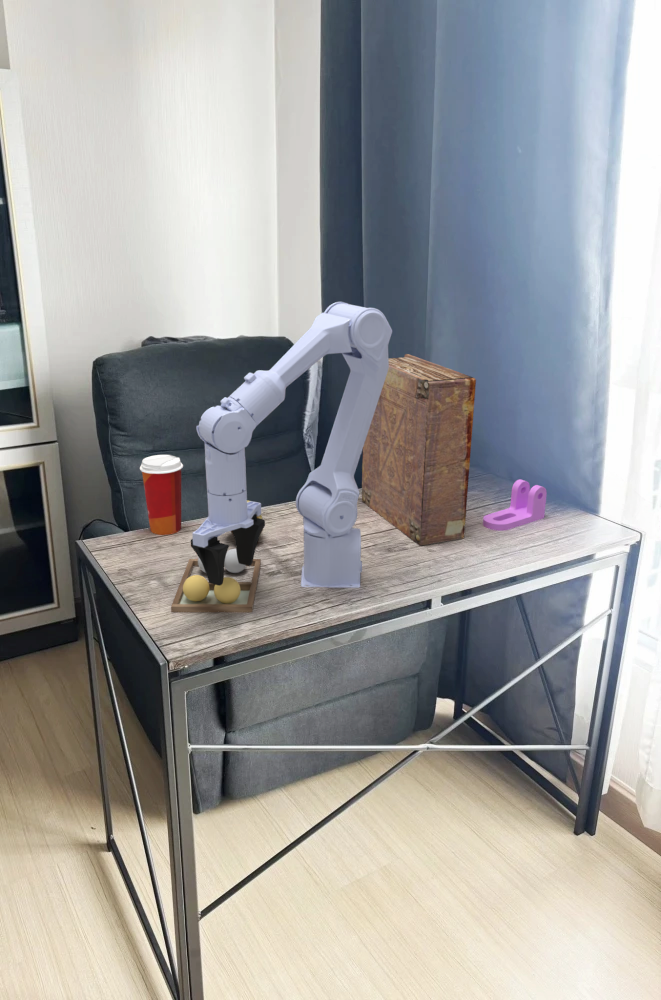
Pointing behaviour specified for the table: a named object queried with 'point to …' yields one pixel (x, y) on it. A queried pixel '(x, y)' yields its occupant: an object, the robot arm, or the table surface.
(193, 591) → the ochre ball
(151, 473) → the paper cup
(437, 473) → the book
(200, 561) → the grey ball
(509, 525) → the bracket
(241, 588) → the sorting board
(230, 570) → the grey ball
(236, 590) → the ochre ball
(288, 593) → the table surface
